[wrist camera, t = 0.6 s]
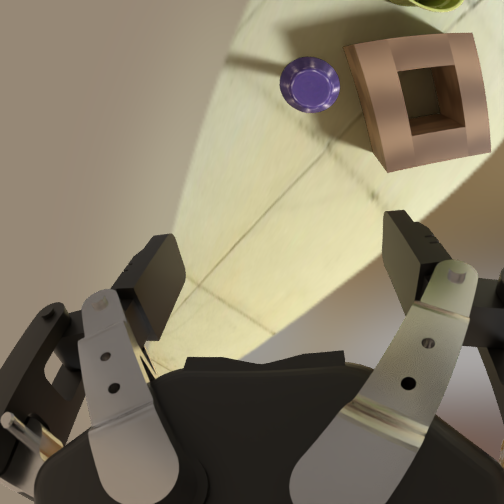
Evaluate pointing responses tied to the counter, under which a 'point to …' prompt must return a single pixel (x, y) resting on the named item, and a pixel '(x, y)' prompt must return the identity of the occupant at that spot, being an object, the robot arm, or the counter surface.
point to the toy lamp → (309, 84)
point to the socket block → (448, 94)
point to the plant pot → (431, 4)
